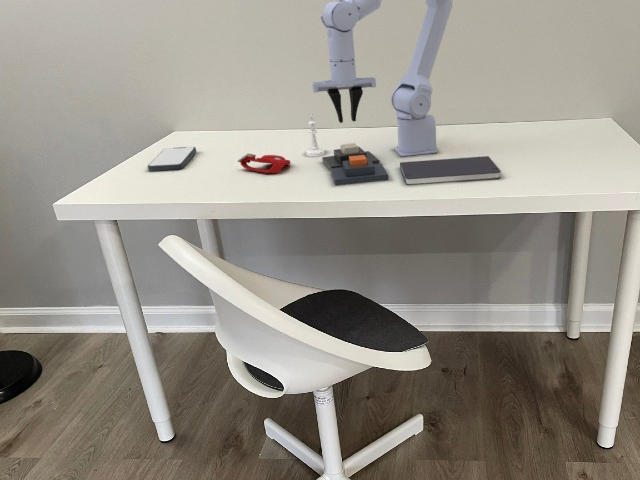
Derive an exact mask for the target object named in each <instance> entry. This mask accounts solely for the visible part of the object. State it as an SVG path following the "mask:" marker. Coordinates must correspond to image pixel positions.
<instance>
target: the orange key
mask: <svg viewBox="0 0 640 480" xmlns="http://www.w3.org/2000/svg"><path fill="white" fill-rule="evenodd" d="M349 163H350V166H351V167H357V166H367V159H366V157H365V155H358V156H349Z"/></svg>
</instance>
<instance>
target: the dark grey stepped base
mask: <svg viewBox="0 0 640 480" xmlns="http://www.w3.org/2000/svg"><path fill="white" fill-rule="evenodd" d="M358 147H359V153H352V154H343V153H342V152H341V148H338V149H333V155H329V156H322V157H321V159H322V163H323V165H324V166H325V167H326V168H327V169H328V170H329V172H331V168H340V167H343V162H342V161H349V156H358V155H365V157H366V159H371V161H372V163H373V164H380V159H379V158H378V157H377V156H375V155H374V154H373V153H372V152H370V151H369V150H367V151H364V150H363V148H362V147H360V146H358Z"/></svg>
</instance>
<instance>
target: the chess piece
mask: <svg viewBox="0 0 640 480" xmlns="http://www.w3.org/2000/svg"><path fill="white" fill-rule="evenodd" d="M307 119H308V120H310V121H308V122H307V124H308V126H309V128H310V130H309V131H308V134H311V146H310V148H309V149H307V150H306V151H305V155H306V156H309V157H318V156H323V155H324V154H326V151H325V149H324V148H321V147H320V146H319V144H318V140H317V135H316V134H317V133H318V130H316V126H317V122H316V121H315V120H316V116H313V113H311V114H310V115H309V116H307Z"/></svg>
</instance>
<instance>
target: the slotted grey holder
mask: <svg viewBox="0 0 640 480" xmlns="http://www.w3.org/2000/svg"><path fill="white" fill-rule="evenodd" d="M342 162H343V167H340V168H331V171H330V174H331V175H330V176H331V177H332V181H333V183H334V186H345V185H356V184H364V183H374V182H375V183H376V182H386V181H389V174H388V172H387V170H386V169H385V167H384V165H383V164H382V163H379V164H373V163H372V161H371V159H367V166H357V167H351V166H350V163H349V161H342Z"/></svg>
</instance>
